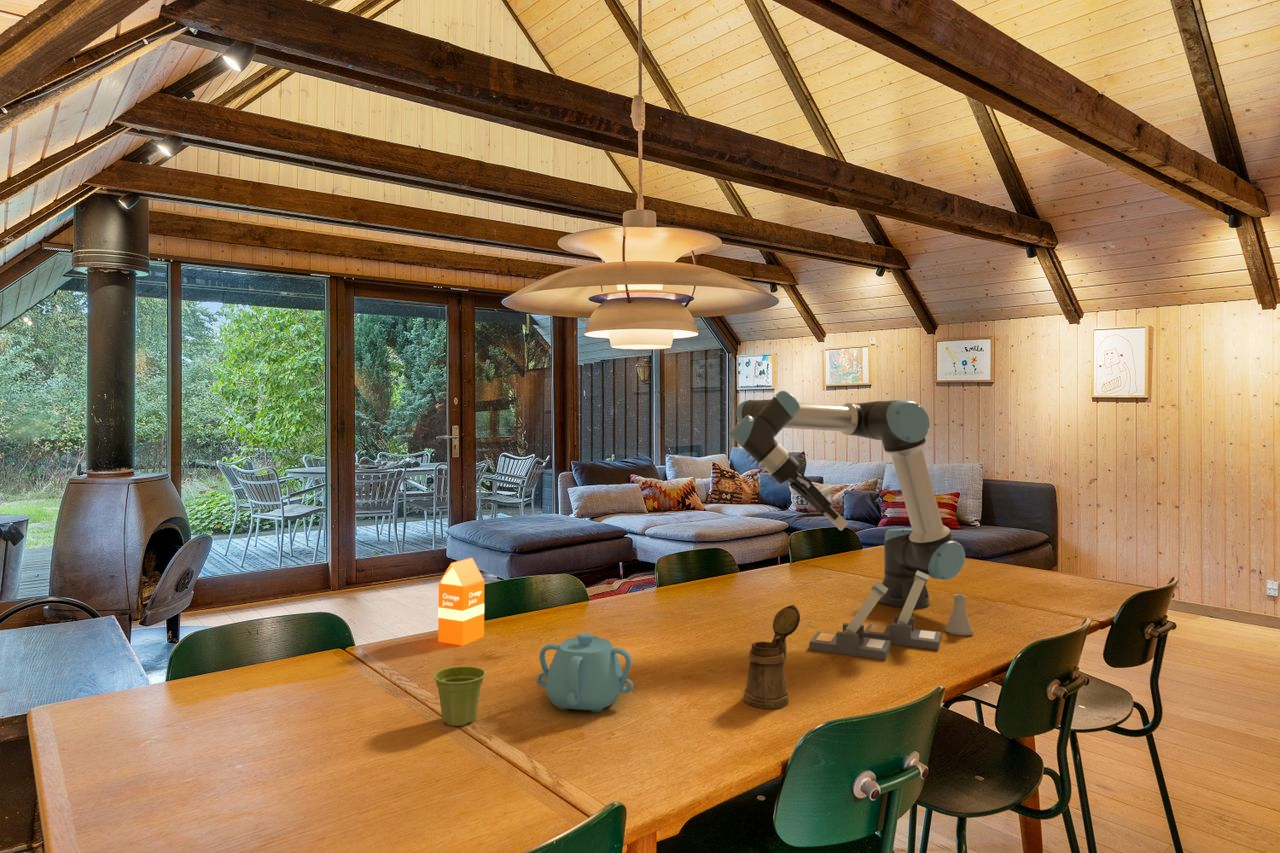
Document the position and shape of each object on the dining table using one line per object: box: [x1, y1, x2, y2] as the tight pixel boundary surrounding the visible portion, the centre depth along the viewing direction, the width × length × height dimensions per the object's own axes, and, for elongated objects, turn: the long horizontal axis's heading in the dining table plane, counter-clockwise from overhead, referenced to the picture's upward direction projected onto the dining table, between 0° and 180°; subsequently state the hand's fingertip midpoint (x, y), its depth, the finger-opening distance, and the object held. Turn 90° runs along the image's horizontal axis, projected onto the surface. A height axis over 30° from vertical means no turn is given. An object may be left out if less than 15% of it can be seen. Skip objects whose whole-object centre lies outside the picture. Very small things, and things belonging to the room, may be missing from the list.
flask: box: [944, 593, 974, 636], centre depth 204 cm, size 7×7×10 cm
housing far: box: [864, 614, 942, 651], centre depth 197 cm, size 18×10×5 cm, turn 65°
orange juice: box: [437, 557, 485, 647], centre depth 193 cm, size 8×9×20 cm
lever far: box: [897, 570, 930, 625], centre depth 196 cm, size 3×6×15 cm, turn 155°
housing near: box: [809, 622, 892, 661], centre depth 189 cm, size 18×10×5 cm, turn 65°
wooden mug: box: [743, 604, 801, 710], centre depth 155 cm, size 9×14×18 cm, turn 132°
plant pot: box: [433, 665, 487, 727], centre depth 142 cm, size 9×9×9 cm
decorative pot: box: [536, 632, 634, 713], centre depth 151 cm, size 16×16×14 cm
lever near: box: [844, 580, 888, 633], centre depth 187 cm, size 3×6×15 cm
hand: (844, 526), depth 202 cm, fingers closed
